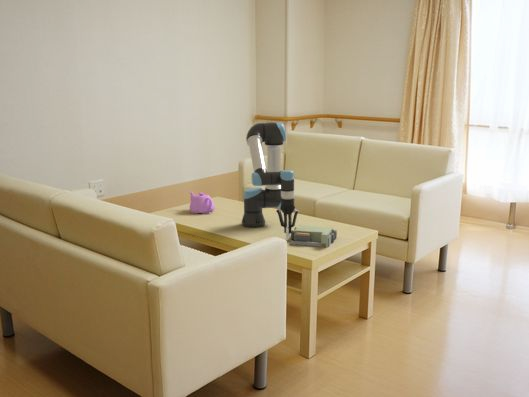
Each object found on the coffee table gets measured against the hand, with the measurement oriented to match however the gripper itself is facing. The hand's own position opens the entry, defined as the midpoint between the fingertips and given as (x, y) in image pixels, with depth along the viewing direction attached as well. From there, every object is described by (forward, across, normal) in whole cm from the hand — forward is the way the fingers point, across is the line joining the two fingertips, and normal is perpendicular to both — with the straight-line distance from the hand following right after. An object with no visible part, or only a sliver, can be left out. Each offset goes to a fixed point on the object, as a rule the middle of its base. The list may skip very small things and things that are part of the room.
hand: (287, 238), depth 317 cm
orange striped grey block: (+2, +9, 0) cm, 9 cm away
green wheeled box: (+2, +13, +6) cm, 14 cm away
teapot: (+2, -82, +59) cm, 101 cm away
